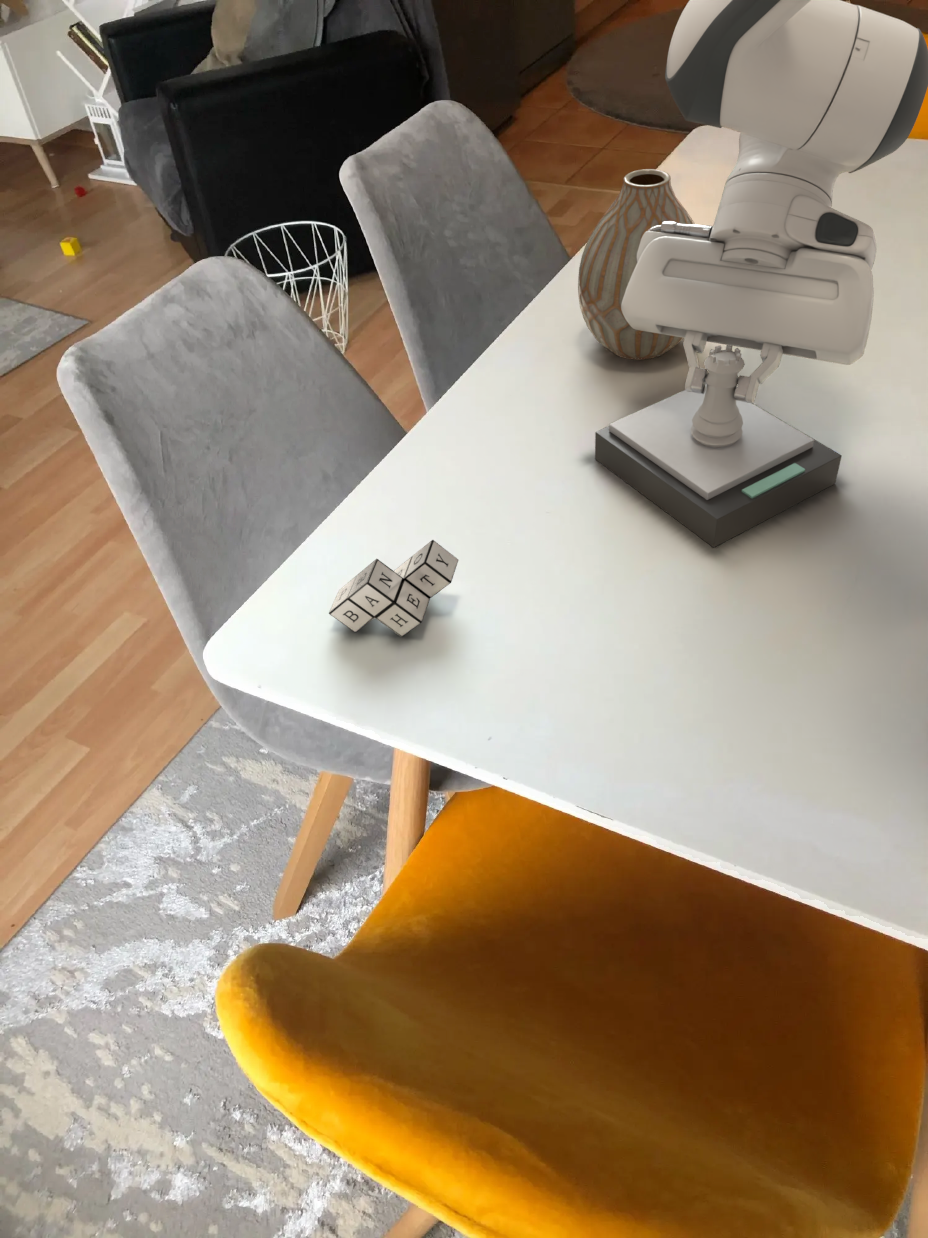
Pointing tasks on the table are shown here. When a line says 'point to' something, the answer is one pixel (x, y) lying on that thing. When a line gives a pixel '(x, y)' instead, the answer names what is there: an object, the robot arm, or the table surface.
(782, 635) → the table surface
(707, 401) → the rook chess piece
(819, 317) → the robot arm
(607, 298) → the vase
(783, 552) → the table surface
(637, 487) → the kitchen scale
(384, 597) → the building blocks
